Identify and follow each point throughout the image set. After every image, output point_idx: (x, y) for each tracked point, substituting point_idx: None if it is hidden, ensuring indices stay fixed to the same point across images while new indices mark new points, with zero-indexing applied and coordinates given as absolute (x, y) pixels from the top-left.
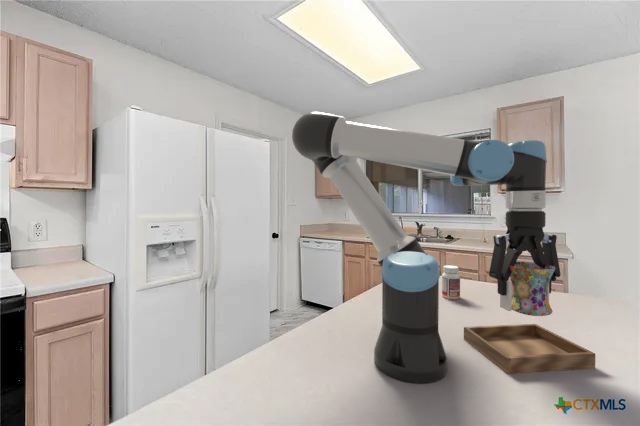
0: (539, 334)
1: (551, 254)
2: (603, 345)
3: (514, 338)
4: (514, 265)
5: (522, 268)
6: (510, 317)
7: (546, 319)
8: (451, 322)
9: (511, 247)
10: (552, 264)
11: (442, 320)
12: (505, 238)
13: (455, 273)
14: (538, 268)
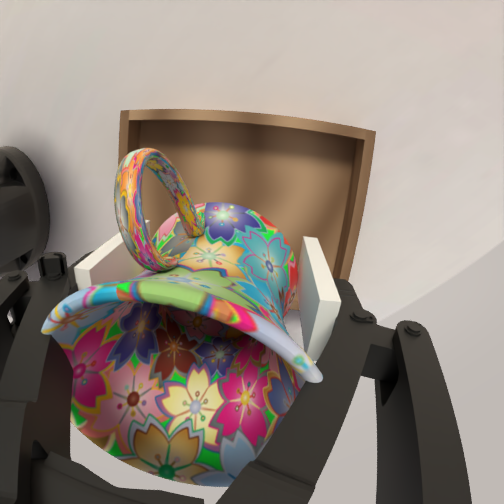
0: (356, 156)
1: (378, 494)
2: (460, 224)
3: (272, 144)
4: (71, 392)
5: (85, 435)
6: (399, 14)
7: (480, 69)
8: (177, 4)
9: (8, 449)
10: (380, 425)
11: None
12: None
13: None
14: (296, 382)
